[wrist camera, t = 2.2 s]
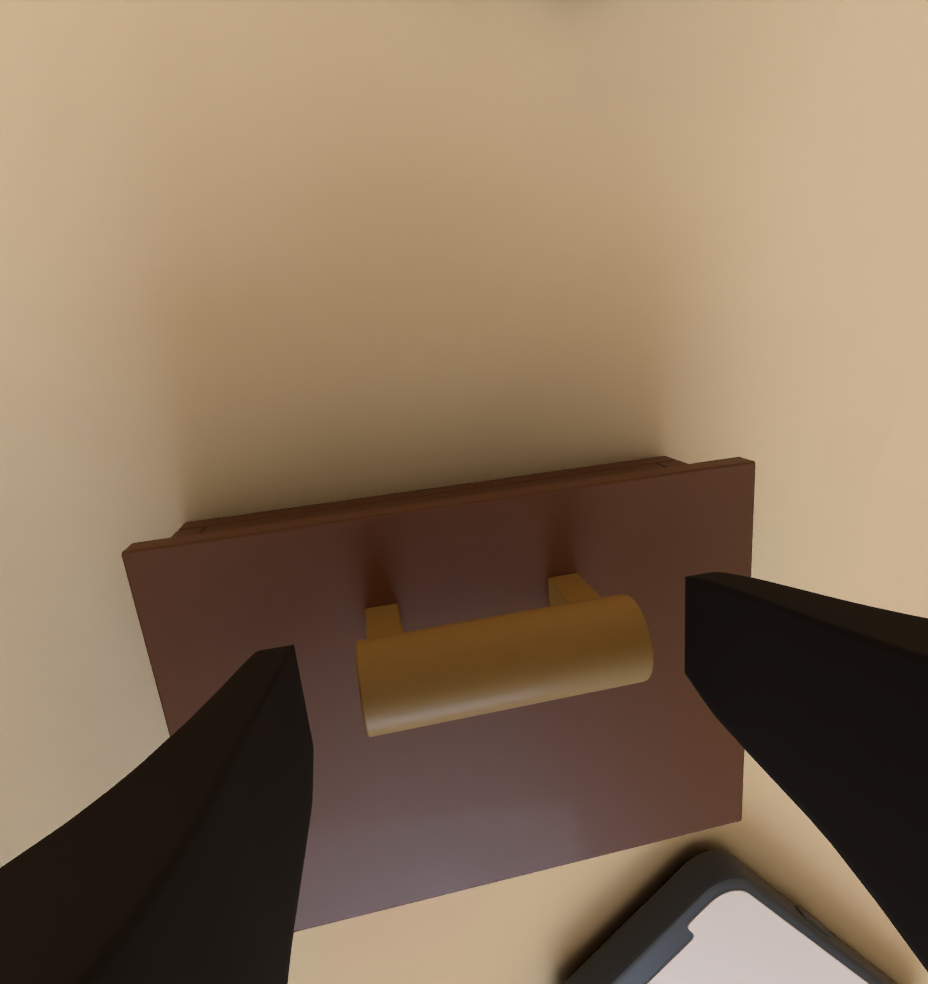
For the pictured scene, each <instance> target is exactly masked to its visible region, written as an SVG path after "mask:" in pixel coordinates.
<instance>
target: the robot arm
mask: <svg viewBox="0 0 928 984" xmlns="http://www.w3.org/2000/svg"><path fill="white" fill-rule="evenodd" d="M685 674H686V676H687V677H688V679H689V680H690V682H691V683H692V684H693V686H694V687H695V689H696V690H697V692H698V693H699V695H700V696H701V698H702V699H703V701H704V702H705V703H706V705H707V706H708V707H709V709H710V710H711V712H712V713H713V714H714V716H715V717H716V718H717V719H718V720H719V721H720V723H721V724H722V725H723V726H724V727H725V728H726V729H727V730H728V732H729V733H730V734H731V735H732V736H733V737H734V738H735V739H736V740H737V741H738V742H739V744H740V745H741V746H742V747H743V748H744V749H745V750H746V751H747V752H748V753H749V754H750V755H751V757H752V758H753V759H754V760H755V761H756V762H757V763H758V764H759V765H760V766H761V767H762V768H763V769H764V770H765V771H766V773H767V774H768V775H769V776H770V777H771V778H772V779H773V780H774V781H775V782H776V783H777V784H778V785H779V786H780V788H781V789H782V790H783V791H784V792H785V793H786V794H787V795H788V796H789V797H790V798H791V799H792V800H793V801H794V803H795V804H796V805H797V806H798V807H799V808H800V809H801V810H802V811H803V812H804V813H805V814H806V815H807V816H808V817H809V819H810V820H811V821H812V822H813V823H814V824H815V826H816V827H817V828H818V829H819V830H820V831H821V832H822V834H823V835H824V836H825V837H826V838H827V839H828V841H829V842H830V843H831V844H832V845H833V847H834V848H835V849H836V850H837V852H838V853H839V854H840V856H841V857H842V858H843V859H844V861H845V862H846V863H847V865H848V866H849V867H850V868H851V870H852V871H853V872H854V874H855V875H856V876H857V877H858V879H859V880H860V881H861V883H862V884H863V885H864V886H865V888H866V889H867V890H868V892H869V893H870V894H871V895H872V897H873V898H874V899H875V901H876V902H877V903H878V905H879V906H880V907H881V909H882V910H883V911H884V913H885V914H886V916H887V917H888V918H889V920H890V921H891V922H892V924H893V925H894V926H895V928H896V929H897V931H898V932H899V933H900V935H901V936H902V937H903V939H904V940H905V941H906V943H907V944H908V946H909V947H910V948H911V950H912V951H913V952H914V954H915V955H916V956H917V958H918V959H919V961H920V962H921V963H922V965H923V966H924V967H925V969H926V970H927V971H928V618H923V617H917V616H912V615H908V614H903V613H898V612H894V611H889V610H884V609H880V608H875V607H870V606H866V605H862V604H857V603H853V602H849V601H845V600H841V599H836V598H832V597H828V596H824V595H820V594H816V593H812V592H808V591H804V590H800V589H797V588H793V587H789V586H785V585H780V584H776V583H772V582H768V581H764V580H760V579H756V578H751V577H747V576H742V575H737V574H731V573H724V572H709V573H704V574H698V575H692V576H686V577H685ZM313 760H314V746H313V741H312V735H311V730H310V725H309V720H308V715H307V709H306V704H305V699H304V694H303V689H302V683H301V678H300V673H299V668H298V663H297V657H296V652H295V647H294V645H288V646H283V647H277V648H271V649H265V650H260V651H256V652H255V653H254V654H253V655H252V656H251V657H250V658H249V659H248V660H247V661H246V662H245V663H244V664H243V665H242V666H241V667H240V668H239V669H238V670H237V671H236V672H235V673H234V674H233V675H232V676H231V677H230V678H229V679H228V680H227V682H226V683H225V684H224V685H223V686H222V687H221V688H220V689H219V690H218V691H217V692H216V693H215V694H214V695H213V696H212V697H211V698H210V699H209V700H208V701H207V702H206V703H205V704H204V705H203V706H202V707H201V708H200V709H199V710H198V711H197V712H196V713H195V714H194V715H193V716H192V717H191V718H190V719H189V720H188V721H187V722H186V723H185V724H184V725H183V726H181V727H180V728H179V729H178V730H177V731H176V732H175V733H174V734H173V735H172V736H171V737H170V738H168V739H167V740H166V741H165V742H164V743H163V744H162V745H161V746H160V747H159V748H158V749H157V750H155V751H154V752H153V753H152V754H151V755H150V756H149V757H148V758H147V759H146V760H145V761H143V762H142V763H141V764H140V765H139V766H138V767H136V768H135V769H134V770H133V771H132V772H131V773H129V774H128V775H127V776H126V777H125V778H123V779H122V780H121V781H120V782H118V783H117V784H116V785H115V786H114V787H112V788H111V789H110V790H109V791H107V792H106V793H105V794H103V795H102V796H101V797H100V798H98V799H97V800H96V801H94V802H93V803H92V804H90V805H89V806H88V807H87V808H85V809H84V810H83V811H81V812H80V813H79V814H78V815H76V816H75V817H73V818H72V819H71V820H69V821H68V822H67V823H65V824H64V825H63V826H61V827H60V828H58V829H57V830H55V831H54V832H52V833H51V834H49V835H48V836H46V837H45V838H44V839H42V840H41V841H39V842H38V843H36V844H35V845H33V846H32V847H30V848H29V849H27V850H26V851H25V852H23V853H22V854H20V855H19V856H17V857H16V858H14V859H13V860H11V861H10V862H8V863H7V864H6V865H4V866H3V867H1V868H0V984H287V982H288V973H289V964H290V955H291V946H292V940H293V933H294V926H295V919H296V913H297V906H298V899H299V893H300V886H301V879H302V873H303V866H304V859H305V852H306V845H307V839H308V832H309V825H310V818H311V810H312V801H313Z"/></svg>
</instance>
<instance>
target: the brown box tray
mask: <svg viewBox="0 0 928 984" xmlns="http://www.w3.org/2000/svg"><path fill="white" fill-rule="evenodd" d="M686 464H687V463H684V462H681V461H677V460H675V459H672V458H669V457H667V456H661V457H654V458H647V459H640V460H633V461H625V462H618V463H611V464H604V465H597V466H589V467H582V468H575V469H568V470H561V471H553V472H546V473H539V474H532V475H525V476H517V477H510V478H503V479H496V480H489V481H481V482H474V483H467V484H460V485H453V486H445V487H438V488H431V489H424V490H417V491H409V492H402V493H395V494H388V495H381V496H373V497H366V498H359V499H352V500H345V501H337V502H330V503H323V504H316V505H309V506H301V507H294V508H287V509H280V510H273V511H265V512H258V513H251V514H244V515H237V516H229V517H222V518H215V519H208V520H201V521H193V522H186V523H185V524H183V525H182V527H181V528H180V529H179V530H178V531H177V532H176V533H175V534H174V535H173V536H172V537H171V538H173V537H180V536H187V535H194V534H201V533H208V532H215V531H222V530H229V529H236V528H243V527H250V526H257V525H264V524H271V523H278V522H285V521H292V520H299V519H306V518H313V517H320V516H327V515H334V514H341V513H348V512H355V511H362V510H369V509H377V508H384V507H391V506H398V505H405V504H412V503H419V502H426V501H433V500H440V499H447V498H454V497H461V496H468V495H475V494H482V493H489V492H496V491H503V490H510V489H517V488H524V487H531V486H538V485H545V484H552V483H559V482H566V481H573V480H580V479H587V478H594V477H602V476H609V475H616V474H623V473H630V472H637V471H644V470H651V469H658V468H665V467H672V466H679V465H686Z"/></svg>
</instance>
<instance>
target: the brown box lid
mask: <svg viewBox="0 0 928 984" xmlns="http://www.w3.org/2000/svg"><path fill="white" fill-rule="evenodd" d="M754 483H755V462H754V461H751V460H748V459H744V458H741V457H735V458H728V459H721V460H714V461H707V462H700V463H693V464H686V465H679V466H672V467H665V468H658V469H651V470H644V471H637V472H630V473H623V474H616V475H609V476H602V477H594V478H587V479H580V480H573V481H566V482H559V483H552V484H545V485H538V486H531V487H524V488H517V489H510V490H503V491H496V492H489V493H482V494H475V495H468V496H461V497H454V498H447V499H440V500H433V501H426V502H419V503H412V504H405V505H398V506H391V507H384V508H377V509H369V510H362V511H355V512H348V513H341V514H334V515H327V516H320V517H313V518H306V519H299V520H292V521H285V522H278V523H271V524H264V525H257V526H250V527H243V528H236V529H229V530H222V531H215V532H208V533H201V534H194V535H187V536H180V537H173V538H166V539H159V540H152V541H144V542H137V543H133V544H131V545H130V546H129V547H128V548H126V549H125V550H124V551H123V552H122V558H123V562H124V566H125V570H126V573H127V577H128V581H129V585H130V588H131V592H132V596H133V599H134V603H135V607H136V611H137V614H138V618H139V622H140V626H141V629H142V633H143V637H144V641H145V644H146V648H147V652H148V656H149V659H150V663H151V667H152V671H153V674H154V678H155V682H156V686H157V689H158V693H159V697H160V701H161V704H162V708H163V712H164V716H165V719H166V723H167V727H168V731H169V734H170V737H171V736H172V735H173V734H174V733H175V732H176V731H177V730H178V729H179V728H180V727H181V726H183V725H184V724H185V723H186V722H187V721H188V720H189V719H190V718H191V717H192V716H193V715H194V714H195V713H196V712H197V711H198V710H199V709H200V708H201V707H202V706H203V705H204V704H205V703H206V702H207V701H208V700H209V699H210V698H211V697H212V696H213V695H214V694H215V693H216V692H217V691H218V690H219V689H220V688H221V687H222V686H223V685H224V684H225V683H226V682H227V680H228V679H229V678H230V677H231V676H232V675H233V674H234V673H235V672H236V671H237V670H238V669H239V668H240V667H241V666H242V665H243V664H244V663H245V662H246V661H247V660H248V659H249V658H250V657H251V656H252V655H253V654H254V653H255V652H256V651H260V650H265V649H271V648H277V647H283V646H288V645H294V647H295V652H296V657H297V663H298V668H299V673H300V678H301V683H302V689H303V694H304V699H305V704H306V709H307V715H308V720H309V725H310V730H311V735H312V741H313V746H314V760H313V801H312V810H311V818H310V825H309V832H308V839H307V845H306V852H305V859H304V866H303V873H302V879H301V886H300V893H299V899H298V906H297V913H296V919H295V926H294V932H296V931H300V930H304V929H308V928H312V927H316V926H320V925H324V924H328V923H332V922H336V921H340V920H344V919H348V918H352V917H357V916H361V915H365V914H369V913H373V912H377V911H381V910H385V909H389V908H393V907H397V906H401V905H405V904H409V903H413V902H417V901H421V900H425V899H429V898H433V897H437V896H441V895H445V894H449V893H453V892H457V891H461V890H465V889H469V888H473V887H477V886H481V885H485V884H489V883H493V882H497V881H501V880H505V879H509V878H513V877H517V876H521V875H525V874H529V873H533V872H537V871H541V870H545V869H549V868H553V867H557V866H561V865H565V864H569V863H573V862H577V861H581V860H585V859H589V858H593V857H597V856H601V855H605V854H609V853H613V852H617V851H621V850H625V849H630V848H634V847H638V846H642V845H646V844H650V843H654V842H658V841H662V840H666V839H670V838H674V837H678V836H682V835H686V834H690V833H694V832H698V831H702V830H706V829H710V828H714V827H718V826H722V825H726V824H730V823H734V822H738V821H741V819H742V793H743V767H744V748H743V747H742V746H741V745H740V744H739V742H738V741H737V740H736V739H735V738H734V737H733V736H732V735H731V734H730V733H729V732H728V730H727V729H726V728H725V727H724V726H723V725H722V724H721V723H720V721H719V720H718V719H717V718H716V717H715V716H714V714H713V713H712V712H711V710H710V709H709V707H708V706H707V705H706V703H705V702H704V701H703V699H702V698H701V696H700V695H699V693H698V692H697V690H696V689H695V687H694V686H693V684H692V683H691V682H690V680H689V679H688V677H687V676H686V674H685V577H686V576H692V575H698V574H704V573H709V572H724V573H731V574H737V575H742V576H747V577H751V561H752V535H753V509H754Z"/></svg>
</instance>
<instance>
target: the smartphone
mask: <svg viewBox="0 0 928 984" xmlns="http://www.w3.org/2000/svg"><path fill="white" fill-rule="evenodd" d="M564 984H896V983H895V982H894V981H892V980H891V979H890V978H888V977H887V976H886V975H885V974H883V973H882V972H881V971H879V970H878V969H877V968H876V967H874V966H873V965H872V964H871V963H869V962H868V961H867V960H865V959H864V958H863V957H862V956H860V955H859V954H858V953H856V952H855V951H854V950H853V949H851V948H850V947H849V946H847V945H846V944H845V943H844V942H842V941H841V940H840V939H838V938H837V937H836V936H835V935H833V934H832V933H831V932H829V931H828V930H827V929H826V928H825V927H824V926H823V925H822V924H821V923H820V922H819V921H818V920H816V919H815V918H814V917H813V916H811V915H810V914H809V913H807V912H806V911H805V910H804V909H802V908H801V907H800V906H798V905H795V904H794V903H792V902H791V901H790V900H788V899H787V898H786V897H785V896H783V895H782V894H781V893H779V892H778V891H777V890H776V889H774V888H773V887H772V886H770V885H769V884H768V883H767V882H765V881H764V880H763V879H762V878H760V877H759V876H758V875H756V874H755V873H754V872H753V871H751V870H750V869H749V868H747V867H746V866H745V865H744V864H742V863H741V862H740V861H738V860H737V859H736V858H735V857H733V856H732V855H730V854H729V853H726V852H723V851H717V850H713V851H707V852H703V853H701V854H698V855H696V856H695V857H693V858H691V859H690V860H689V861H688V862H686V863H685V864H684V865H683V866H682V867H681V868H680V869H679V870H678V871H677V872H676V873H675V874H674V875H673V876H672V877H671V878H670V879H669V880H668V881H667V882H666V883H665V884H664V885H663V886H662V887H661V888H660V889H659V890H658V891H657V892H656V893H655V894H654V895H653V896H652V897H651V898H650V899H649V900H648V901H647V902H646V903H645V904H644V905H643V906H642V907H641V908H640V909H639V910H638V911H637V912H636V913H634V914H633V915H632V916H631V917H630V918H629V919H628V920H627V921H626V922H625V923H624V924H623V925H622V926H621V927H620V928H619V929H618V930H617V931H616V932H615V933H614V934H613V935H612V936H611V937H610V938H609V939H608V940H607V941H606V942H605V943H604V944H603V945H602V946H601V947H600V948H599V949H598V950H597V951H596V952H595V953H594V954H593V955H592V956H591V957H590V958H589V959H588V960H587V961H586V962H585V963H584V964H583V965H582V966H581V967H580V968H579V969H578V970H577V971H576V972H575V973H574V974H573V975H572V976H571V977H570V978H569V979H568V980H567V981H566V982H565V983H564Z"/></svg>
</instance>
